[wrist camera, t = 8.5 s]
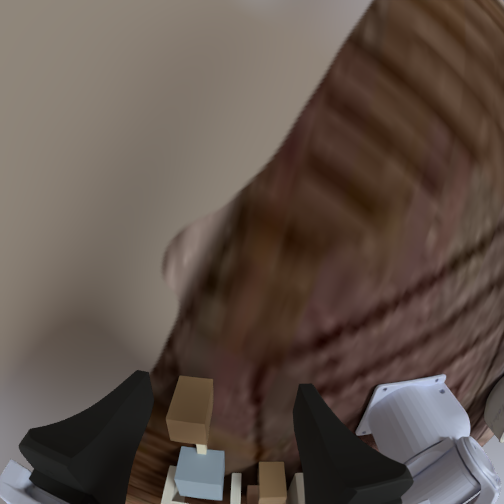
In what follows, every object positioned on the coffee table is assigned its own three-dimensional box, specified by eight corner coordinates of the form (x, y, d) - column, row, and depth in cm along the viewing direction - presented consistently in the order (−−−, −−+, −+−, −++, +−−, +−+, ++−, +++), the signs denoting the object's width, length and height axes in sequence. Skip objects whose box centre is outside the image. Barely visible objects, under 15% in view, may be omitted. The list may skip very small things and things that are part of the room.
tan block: (291, 461, 27) (296, 496, 22) (278, 497, 30) (280, 524, 25) (250, 461, 27) (250, 497, 21) (245, 497, 30) (245, 525, 25)
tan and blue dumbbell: (224, 379, 23) (218, 425, 18) (224, 469, 27) (221, 503, 22) (169, 373, 23) (153, 416, 18) (185, 465, 27) (179, 498, 22)
